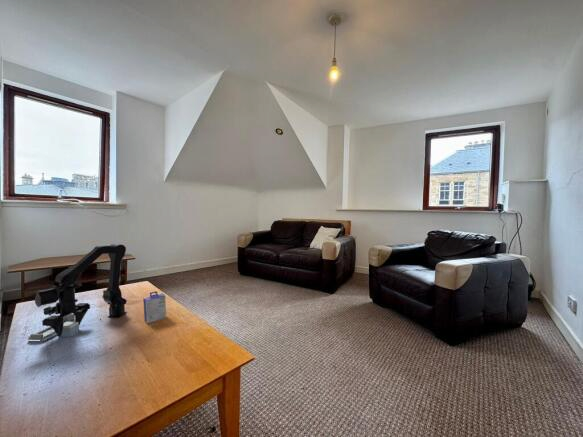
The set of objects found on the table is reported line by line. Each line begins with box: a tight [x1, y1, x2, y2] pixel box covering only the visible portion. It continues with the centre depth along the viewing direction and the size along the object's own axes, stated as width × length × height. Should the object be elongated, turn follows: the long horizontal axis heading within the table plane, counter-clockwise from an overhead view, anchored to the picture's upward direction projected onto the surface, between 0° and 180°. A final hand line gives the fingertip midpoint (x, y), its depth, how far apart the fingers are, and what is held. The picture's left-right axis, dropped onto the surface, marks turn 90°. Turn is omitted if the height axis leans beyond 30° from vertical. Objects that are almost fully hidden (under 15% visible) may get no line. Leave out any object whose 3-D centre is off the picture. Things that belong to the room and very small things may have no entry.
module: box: [60, 322, 80, 337], centre depth 118 cm, size 4×6×5 cm
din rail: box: [27, 313, 75, 342], centre depth 119 cm, size 8×17×6 cm, turn 178°
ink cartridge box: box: [142, 291, 167, 324], centre depth 132 cm, size 10×6×14 cm, turn 134°
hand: (69, 331), depth 118 cm, fingers open, 9 cm apart
